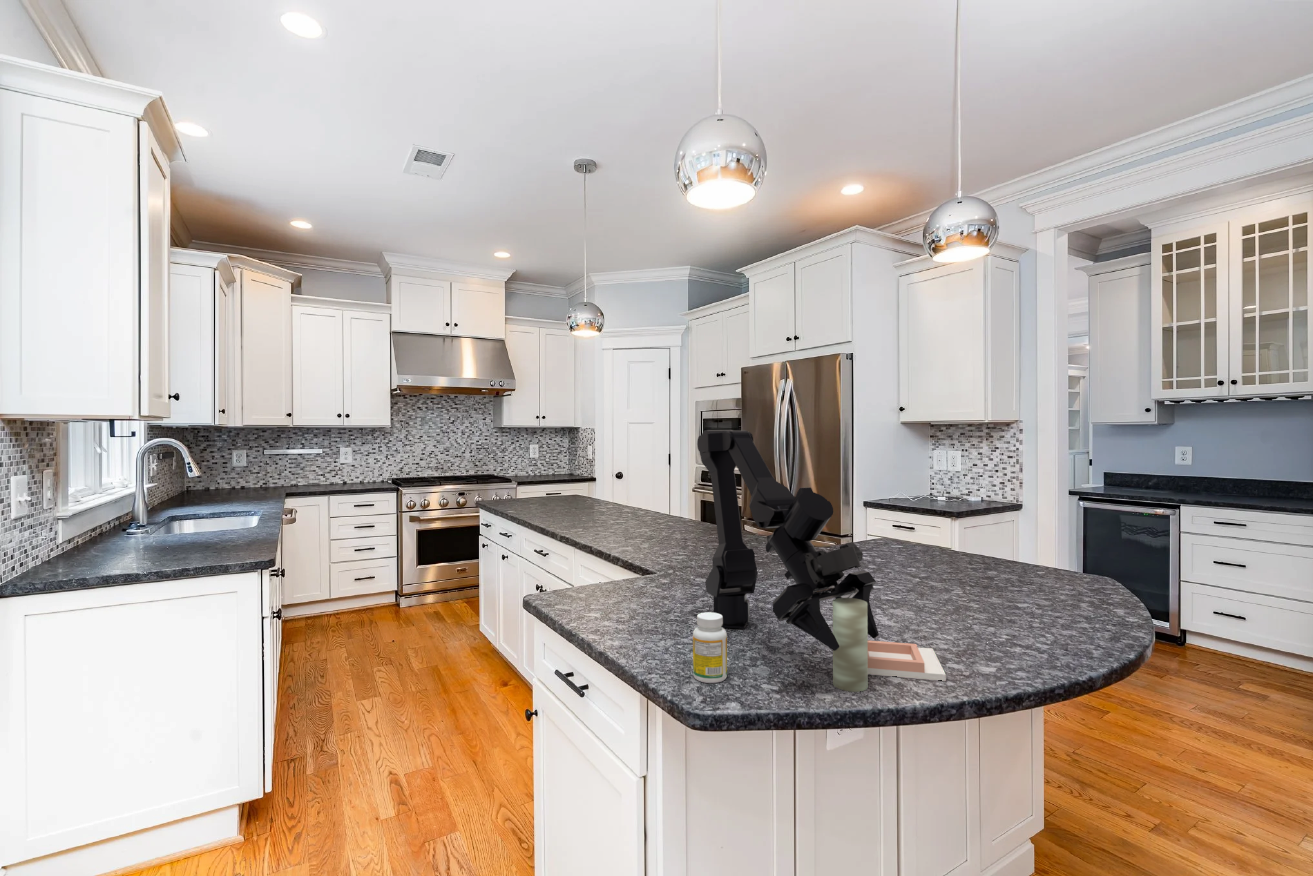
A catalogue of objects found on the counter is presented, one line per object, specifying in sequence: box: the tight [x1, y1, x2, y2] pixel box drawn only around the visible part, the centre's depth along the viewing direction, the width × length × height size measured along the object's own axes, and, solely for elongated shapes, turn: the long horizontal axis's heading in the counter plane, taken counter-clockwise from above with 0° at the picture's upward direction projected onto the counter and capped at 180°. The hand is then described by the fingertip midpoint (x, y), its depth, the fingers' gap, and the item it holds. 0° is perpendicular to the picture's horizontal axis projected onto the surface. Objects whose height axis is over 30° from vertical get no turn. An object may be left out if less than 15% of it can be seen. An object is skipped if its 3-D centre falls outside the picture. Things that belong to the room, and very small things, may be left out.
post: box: [832, 598, 869, 693], centre depth 93 cm, size 5×5×12 cm
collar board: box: [868, 640, 947, 682], centre depth 102 cm, size 12×12×2 cm
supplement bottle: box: [692, 611, 728, 684], centre depth 97 cm, size 5×5×10 cm
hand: (857, 643), depth 92 cm, fingers open, 9 cm apart
